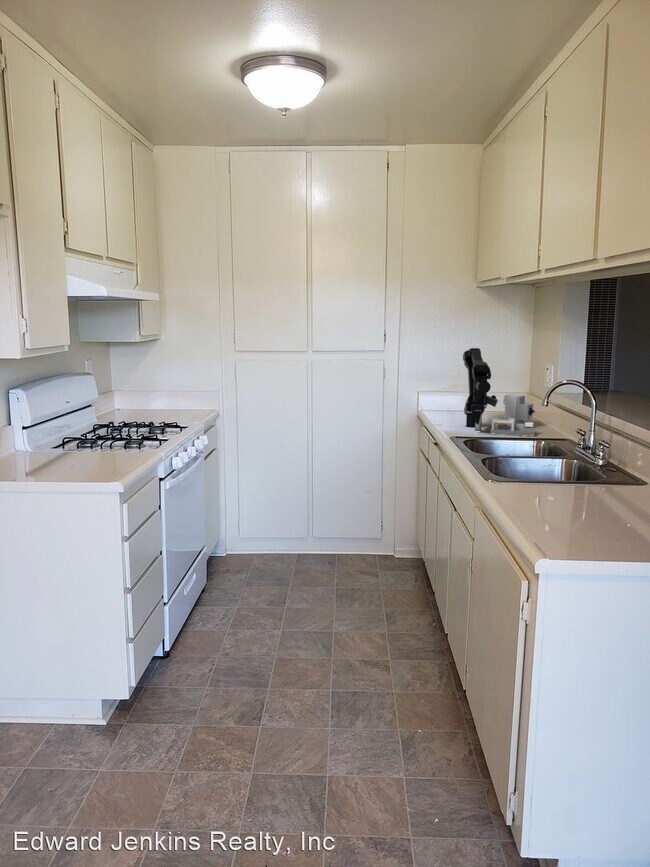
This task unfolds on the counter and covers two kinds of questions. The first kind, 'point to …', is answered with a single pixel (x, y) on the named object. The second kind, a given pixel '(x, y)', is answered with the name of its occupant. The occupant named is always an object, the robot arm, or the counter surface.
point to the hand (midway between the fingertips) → (478, 422)
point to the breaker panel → (510, 430)
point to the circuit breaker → (517, 409)
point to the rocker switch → (528, 424)
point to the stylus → (479, 425)
